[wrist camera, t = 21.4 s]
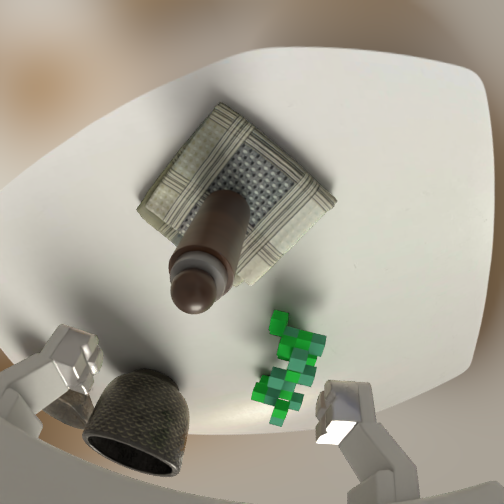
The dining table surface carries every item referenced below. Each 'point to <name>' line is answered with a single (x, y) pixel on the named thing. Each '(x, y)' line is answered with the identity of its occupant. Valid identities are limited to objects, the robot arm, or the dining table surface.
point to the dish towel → (238, 190)
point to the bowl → (71, 409)
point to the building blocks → (289, 367)
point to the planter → (140, 423)
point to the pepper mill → (209, 252)
